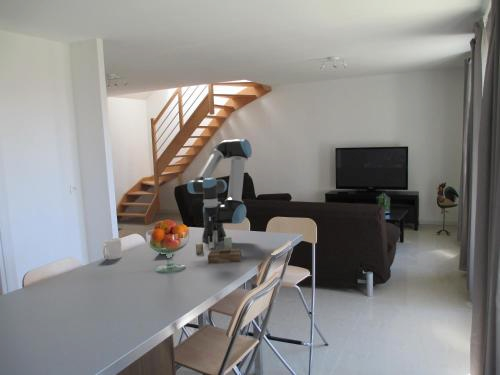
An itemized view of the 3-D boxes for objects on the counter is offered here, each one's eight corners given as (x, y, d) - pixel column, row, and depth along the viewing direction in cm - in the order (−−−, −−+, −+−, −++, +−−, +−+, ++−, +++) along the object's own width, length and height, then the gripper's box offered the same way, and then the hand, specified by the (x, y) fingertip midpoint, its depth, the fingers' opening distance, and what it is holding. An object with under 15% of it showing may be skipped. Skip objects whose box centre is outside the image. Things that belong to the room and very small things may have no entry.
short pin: (196, 252, 228) (196, 243, 228) (204, 251, 228) (203, 242, 228) (195, 254, 224) (194, 245, 224) (202, 253, 224) (202, 244, 224)
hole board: (211, 257, 216) (211, 249, 215) (241, 255, 215) (241, 248, 214) (208, 263, 204) (207, 255, 203) (240, 262, 203) (239, 254, 203)
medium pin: (225, 250, 227) (224, 236, 227) (232, 250, 227) (231, 236, 226) (224, 252, 223) (223, 238, 223) (231, 252, 223) (231, 237, 222)
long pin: (211, 251, 228) (209, 230, 227) (218, 251, 228) (216, 229, 226) (210, 253, 224) (208, 231, 223) (217, 252, 224) (215, 231, 222)
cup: (125, 256, 229) (123, 238, 228) (110, 262, 218) (108, 243, 217) (114, 255, 232) (112, 237, 231) (98, 261, 221) (96, 242, 220)
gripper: (207, 203, 236) (210, 239, 238) (200, 210, 211) (203, 250, 213) (220, 202, 235) (222, 239, 237) (214, 209, 210) (217, 249, 212)
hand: (213, 244), depth 225 cm, fingers open, 13 cm apart
